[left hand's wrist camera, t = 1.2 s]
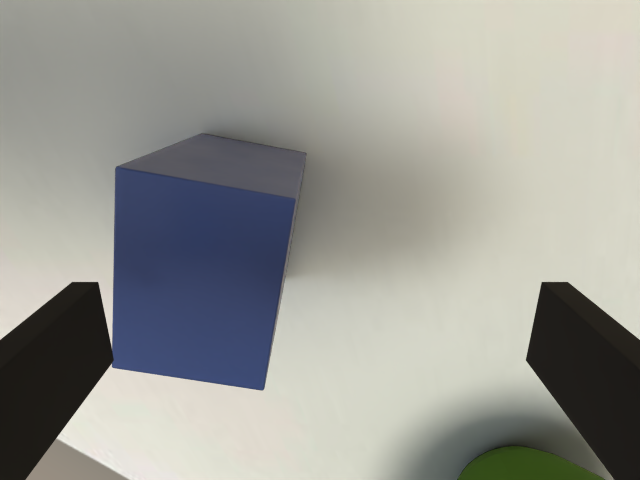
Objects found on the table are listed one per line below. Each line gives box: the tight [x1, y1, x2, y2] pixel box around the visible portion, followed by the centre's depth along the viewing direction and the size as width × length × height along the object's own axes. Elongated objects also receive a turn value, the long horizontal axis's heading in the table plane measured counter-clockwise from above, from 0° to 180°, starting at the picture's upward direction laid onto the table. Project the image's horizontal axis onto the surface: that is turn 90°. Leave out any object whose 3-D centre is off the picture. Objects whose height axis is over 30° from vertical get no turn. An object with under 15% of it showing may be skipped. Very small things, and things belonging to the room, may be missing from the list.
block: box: [112, 134, 306, 390], centre depth 23 cm, size 7×9×12 cm
